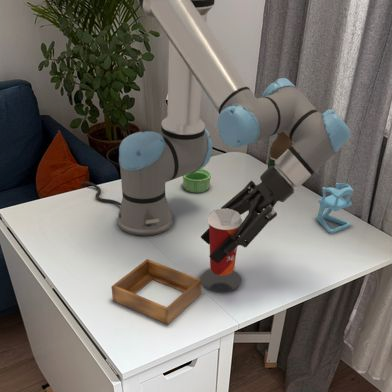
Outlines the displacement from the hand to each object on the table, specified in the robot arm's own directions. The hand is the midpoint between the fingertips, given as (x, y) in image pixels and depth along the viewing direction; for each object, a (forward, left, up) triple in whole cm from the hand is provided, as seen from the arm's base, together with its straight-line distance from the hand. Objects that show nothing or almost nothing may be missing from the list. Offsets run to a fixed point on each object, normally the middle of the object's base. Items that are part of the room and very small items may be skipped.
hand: (209, 249), depth 118 cm
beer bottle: (-8, +55, -9) cm, 56 cm away
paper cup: (+2, +2, -6) cm, 7 cm away
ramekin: (-30, +42, -9) cm, 52 cm away
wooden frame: (-7, -12, -9) cm, 16 cm away
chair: (+14, +44, -9) cm, 47 cm away
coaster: (+2, +2, -9) cm, 10 cm away
